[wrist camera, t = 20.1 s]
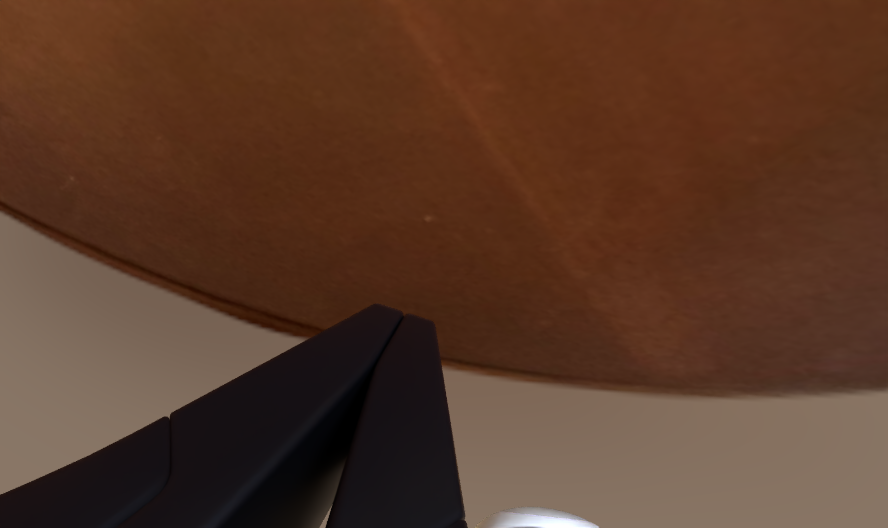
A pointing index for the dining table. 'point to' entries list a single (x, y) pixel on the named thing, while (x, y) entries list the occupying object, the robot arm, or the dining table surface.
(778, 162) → the dining table surface
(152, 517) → the robot arm
